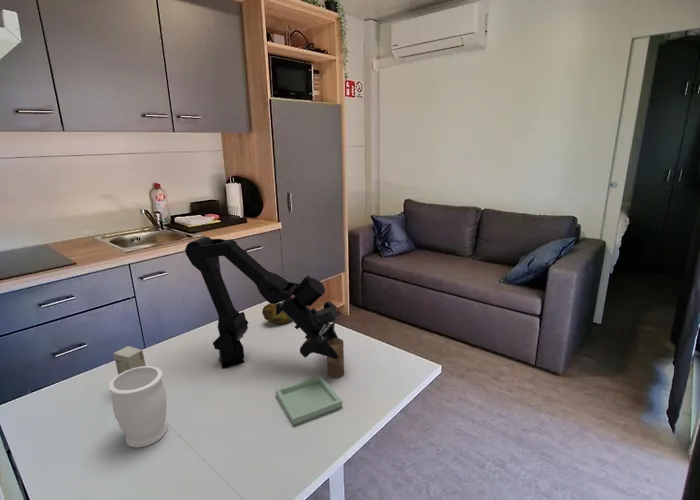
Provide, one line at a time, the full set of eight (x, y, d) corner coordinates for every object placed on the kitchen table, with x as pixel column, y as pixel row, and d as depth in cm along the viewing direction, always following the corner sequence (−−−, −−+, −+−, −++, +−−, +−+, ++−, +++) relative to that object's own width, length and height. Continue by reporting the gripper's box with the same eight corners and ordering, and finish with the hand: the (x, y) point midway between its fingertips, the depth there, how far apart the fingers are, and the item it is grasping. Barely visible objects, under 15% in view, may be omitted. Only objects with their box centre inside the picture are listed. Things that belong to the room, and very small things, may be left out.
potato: (299, 324, 142) (298, 304, 140) (264, 330, 138) (262, 309, 136) (295, 315, 150) (294, 296, 147) (262, 320, 146) (260, 300, 144)
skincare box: (151, 389, 105) (144, 349, 102) (136, 398, 102) (129, 357, 98) (135, 383, 108) (127, 344, 105) (120, 392, 104) (112, 352, 101)
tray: (293, 426, 91) (293, 419, 90) (275, 396, 102) (275, 389, 101) (342, 408, 97) (342, 401, 96) (320, 381, 108) (320, 375, 107)
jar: (181, 424, 92) (172, 369, 88) (146, 457, 82) (134, 397, 78) (147, 415, 95) (137, 362, 91) (109, 445, 86) (96, 387, 82)
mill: (332, 379, 108) (330, 344, 105) (324, 371, 112) (323, 337, 109) (347, 374, 110) (346, 339, 107) (339, 366, 114) (338, 332, 111)
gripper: (309, 311, 97) (352, 354, 98) (328, 285, 115) (365, 322, 115) (282, 336, 101) (323, 378, 102) (304, 308, 118) (340, 343, 119)
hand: (340, 353), depth 109 cm, fingers closed on mill, 5 cm apart
